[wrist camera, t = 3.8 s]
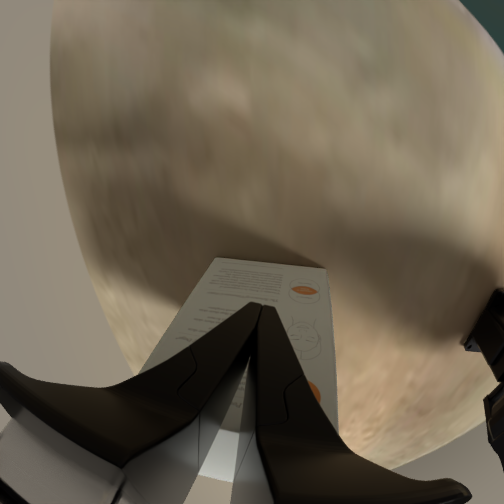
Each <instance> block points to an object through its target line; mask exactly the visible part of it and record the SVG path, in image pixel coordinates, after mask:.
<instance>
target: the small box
mask: <svg viewBox="0 0 504 504" xmlns="http://www.w3.org/2000/svg"><path fill="white" fill-rule="evenodd" d="M251 301H252V302H256V303H261V304H262V306H263V305H269V306H274V307H275V308H276V310H277V312H278V314H279V317H280V319H281V321H282V323H283V326H284V328H285V330H286V333H287V335H288V337H289V339H290V342H291V344H292V346H293V349H294V351H295V353H296V355H297V358H298V360H299V362H300V364H301V367H302V369H303V371H304V375H305V376H306V378H307V380H308V383H309V385H310V387H311V389H312V391H313V393H314V395H315V397H316V399H317V400H318V402H319V404H320V405H321V407H322V409H323V411H324V412H325V414H326V415H327V417H328V418H329V420H330V422H331V423H332V425H333V426H334V428H335V429H336V431H337V433H338V434H339V429H338V401H337V374H336V357H335V343H334V329H333V316H332V305H331V296H330V287H329V279H328V273H327V270H326V269H322V268H312V267H303V266H294V265H284V264H275V263H266V262H257V261H247V260H237V259H228V258H219V257H216V258H215V259H214V260H213V262H212V263H211V264H210V266H209V267H208V269H207V270H206V272H205V273H204V275H203V276H202V278H201V279H200V281H199V282H198V283H197V285H196V286H195V288H194V289H193V291H192V292H191V294H190V295H189V297H188V298H187V300H186V301H185V303H184V304H183V306H182V307H181V309H180V310H179V312H178V313H177V315H176V316H175V318H174V320H173V321H172V323H171V324H170V326H169V327H168V329H167V330H166V332H165V333H164V335H163V336H162V338H161V339H160V341H159V343H158V344H157V346H156V347H155V349H154V350H153V352H152V353H151V355H150V356H149V358H148V360H147V361H146V363H145V364H144V366H143V367H142V369H141V370H140V372H139V374H140V373H142V372H144V371H146V370H148V369H150V368H152V367H154V366H156V365H158V364H160V363H162V362H164V361H166V360H167V359H169V358H171V357H172V356H174V355H175V354H177V353H178V352H180V351H181V350H183V349H184V348H186V347H189V345H190V344H192V343H193V342H195V341H196V340H197V339H199V338H200V337H202V336H203V335H204V334H206V333H207V332H209V331H210V330H212V329H213V328H214V327H216V326H217V325H219V324H220V323H221V322H223V321H224V320H225V319H227V318H228V317H230V316H231V315H232V314H234V313H235V312H236V311H238V310H239V309H241V308H242V307H243V306H245V305H246V304H247V303H249V302H251ZM249 359H250V358H249ZM248 363H249V362H248ZM247 368H248V365H247ZM247 368H246V370H245V373H244V375H243V377H242V380H241V382H240V384H239V387H238V389H237V391H236V393H235V396H234V398H233V400H232V402H231V405H230V407H229V409H228V411H227V413H226V416H225V418H224V420H223V422H222V424H221V427H220V429H219V431H218V433H217V435H216V437H215V440H214V442H213V444H212V446H211V448H210V450H209V452H208V454H207V456H206V458H205V461H204V463H203V465H202V467H201V469H200V471H199V473H198V475H202V476H206V477H210V478H215V479H219V480H224V481H229V482H233V479H234V472H235V464H236V456H237V448H238V440H239V432H240V424H241V416H242V408H243V400H244V392H245V384H246V375H247Z"/></svg>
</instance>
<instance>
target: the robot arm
mask: <svg viewBox="0 0 504 504" xmlns="http://www.w3.org/2000/svg"><path fill="white" fill-rule="evenodd" d="M497 295H498V296H497ZM464 348H465V350H466V351H472V352H481V353H482V354H483V356H484V358H485V360H486V362H487V364H488V365H489V366H490V368H491V370H492V372H493V374H494V376H495V378H496V380H497V382H499V383H500V384H499V385H498V386H497V387H496V388H495V389H494V390H493V391H492V392H491V393H490V394H489V395H487V396H486V397H485V398H484V399H483V402H484V409H485V416H486V423H487V434H488V442H489V443H490V444H491V446H492V448H493V449H494V451H495V452H496V453H497V454H498V456H499V458H500V460H501V463H502V467H503V471H504V290H502V289H497V290H495V291H494V293H493V295H492V297H491V299H490V301H489V303H488V305H487V307H486V309H485V310H484V312H483V314H482V316H481V318H480V319H479V321H478V323H477V325H476V326H475V328H474V330H473V331H472V333H471V335H470V336H469V338H468V339H467V341H466V343H465V344H464ZM249 358H250V359H249ZM248 362H249V363H248ZM247 365H248V368H247ZM246 368H247V375H246V384H245V392H244V400H243V408H242V416H241V424H240V432H239V440H238V448H237V456H236V464H235V472H234V479H233V488H232V495H231V502H230V504H465V503H466V502H468V501H469V500H470V499H471V498H472V494H471V493H470V491H469V490H468V488H467V487H465V486H464V485H463V484H461V483H459V482H457V481H455V480H453V479H451V478H443V479H437V480H431V481H421V480H415V479H410V478H407V477H405V476H402V475H400V474H397V473H395V472H392V471H390V470H388V469H386V468H384V467H382V466H379V465H377V464H375V463H373V462H371V461H369V460H367V459H365V458H363V457H361V456H359V455H357V454H355V453H354V452H353V451H351V450H350V449H349V448H348V447H347V445H346V444H345V443H344V442H343V440H342V439H341V437H340V436H339V434H338V433H337V431H336V429H335V428H334V426H333V425H332V423H331V422H330V420H329V418H328V417H327V415H326V414H325V412H324V411H323V409H322V407H321V405H320V404H319V402H318V400H317V399H316V397H315V395H314V393H313V391H312V389H311V387H310V385H309V383H308V380H307V378H306V376H305V375H304V371H303V369H302V367H301V364H300V362H299V360H298V358H297V355H296V353H295V351H294V349H293V346H292V344H291V342H290V339H289V337H288V335H287V333H286V330H285V328H284V326H283V323H282V321H281V319H280V317H279V314H278V312H277V310H276V308H275V307H274V306H269V305H263V306H262V304H261V303H256V302H252V301H251V302H249V303H247V304H246V305H245V306H243V307H242V308H241V309H239V310H238V311H236V312H235V313H234V314H232V315H231V316H230V317H228V318H227V319H225V320H224V321H223V322H221V323H220V324H219V325H217V326H216V327H214V328H213V329H212V330H210V331H209V332H207V333H206V334H204V335H203V336H202V337H200V338H199V339H197V340H196V341H195V342H193V343H192V344H190V345H189V347H186V348H184V349H183V350H181V351H180V352H178V353H177V354H175V355H174V356H172V357H171V358H169V359H167V360H166V361H164V362H162V363H160V364H158V365H156V366H154V367H152V368H150V369H148V370H146V371H144V372H142V373H140V374H138V375H136V376H134V377H132V378H130V379H128V380H126V381H124V382H121V383H119V384H116V385H113V386H110V387H104V388H94V387H84V386H75V385H66V384H59V383H51V382H45V381H40V380H36V379H33V378H30V377H28V376H26V375H24V374H22V373H21V372H19V371H18V370H17V369H16V368H14V367H13V366H12V365H10V364H9V363H6V362H0V403H1V404H2V406H3V407H4V409H5V410H6V411H7V412H8V414H9V415H10V416H11V417H12V419H11V420H10V421H9V422H8V424H7V425H6V426H5V427H4V429H3V430H2V431H1V433H0V504H183V503H184V501H185V499H186V497H187V495H188V493H189V491H190V489H191V487H192V485H193V483H194V481H195V479H196V477H197V475H198V473H199V471H200V469H201V467H202V465H203V463H204V461H205V458H206V456H207V454H208V452H209V450H210V448H211V446H212V444H213V442H214V440H215V437H216V435H217V433H218V431H219V429H220V427H221V424H222V422H223V420H224V418H225V416H226V413H227V411H228V409H229V407H230V405H231V402H232V400H233V398H234V396H235V393H236V391H237V389H238V387H239V384H240V382H241V380H242V377H243V375H244V373H245V370H246Z"/></svg>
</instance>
